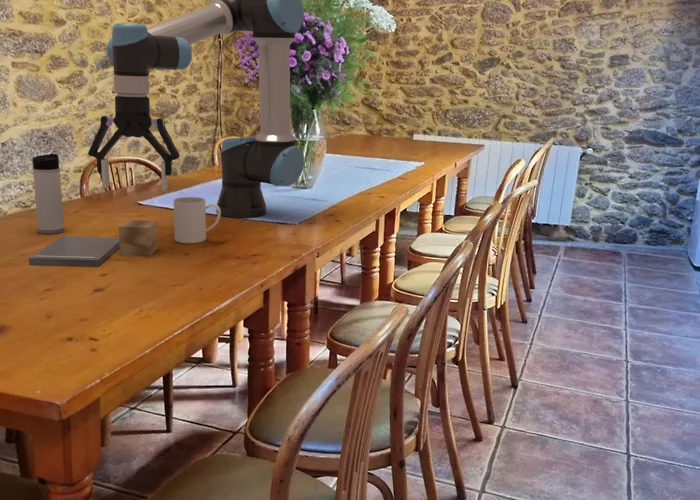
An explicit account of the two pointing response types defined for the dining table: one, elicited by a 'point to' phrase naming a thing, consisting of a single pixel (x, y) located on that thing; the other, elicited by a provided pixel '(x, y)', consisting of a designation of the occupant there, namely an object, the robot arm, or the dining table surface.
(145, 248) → the oak cube
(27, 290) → the dining table surface
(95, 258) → the slate board
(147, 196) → the dining table surface
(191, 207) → the mug
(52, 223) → the travel mug
